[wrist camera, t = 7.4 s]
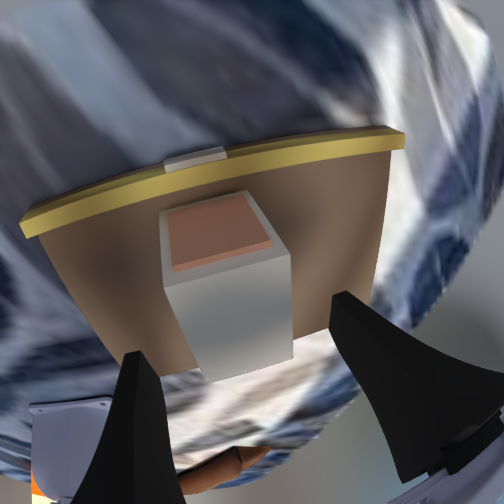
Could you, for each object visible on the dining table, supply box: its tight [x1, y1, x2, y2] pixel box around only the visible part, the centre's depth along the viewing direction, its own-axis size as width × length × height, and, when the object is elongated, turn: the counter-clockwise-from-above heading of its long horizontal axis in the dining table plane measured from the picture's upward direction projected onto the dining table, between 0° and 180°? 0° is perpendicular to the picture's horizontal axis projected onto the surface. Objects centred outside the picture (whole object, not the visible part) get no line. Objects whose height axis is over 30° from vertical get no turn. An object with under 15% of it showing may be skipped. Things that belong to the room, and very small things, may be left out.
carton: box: [159, 190, 293, 384], centre depth 13 cm, size 4×6×5 cm, turn 7°
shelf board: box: [19, 125, 405, 377], centre depth 16 cm, size 18×14×2 cm
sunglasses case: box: [178, 446, 272, 495], centre depth 37 cm, size 18×7×7 cm
